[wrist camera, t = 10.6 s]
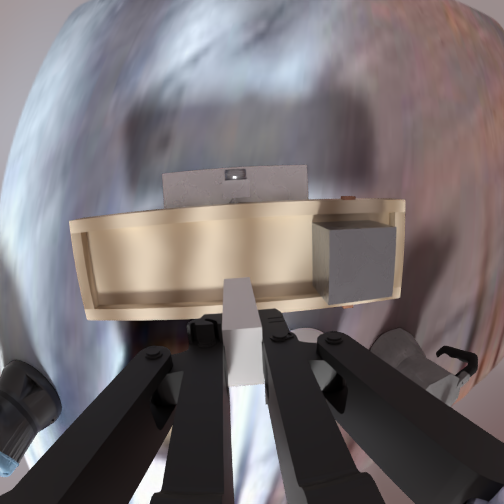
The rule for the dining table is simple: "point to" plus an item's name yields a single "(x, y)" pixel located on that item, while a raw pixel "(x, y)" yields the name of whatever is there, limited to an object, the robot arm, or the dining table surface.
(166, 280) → the beam
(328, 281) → the block
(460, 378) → the coffeepot
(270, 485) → the dining table surface
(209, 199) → the stand
